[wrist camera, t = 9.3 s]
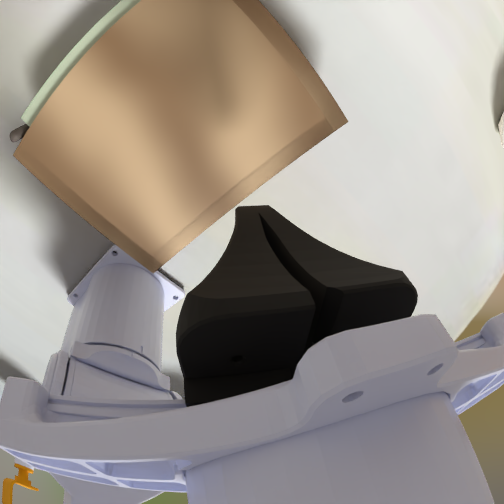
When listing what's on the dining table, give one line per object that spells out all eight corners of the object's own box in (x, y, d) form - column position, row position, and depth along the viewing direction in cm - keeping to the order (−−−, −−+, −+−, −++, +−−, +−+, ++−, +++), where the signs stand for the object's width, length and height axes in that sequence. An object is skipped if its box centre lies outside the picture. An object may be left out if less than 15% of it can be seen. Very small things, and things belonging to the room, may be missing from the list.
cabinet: (160, 230, 23) (153, 273, 19) (40, 124, 16) (3, 146, 11) (315, 106, 19) (348, 121, 15) (197, -30, 12) (198, -58, 8)
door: (61, 112, 16) (30, 128, 12) (51, 103, 15) (19, 116, 11) (204, -20, 12) (206, -42, 9) (193, -30, 12) (192, -54, 8)
